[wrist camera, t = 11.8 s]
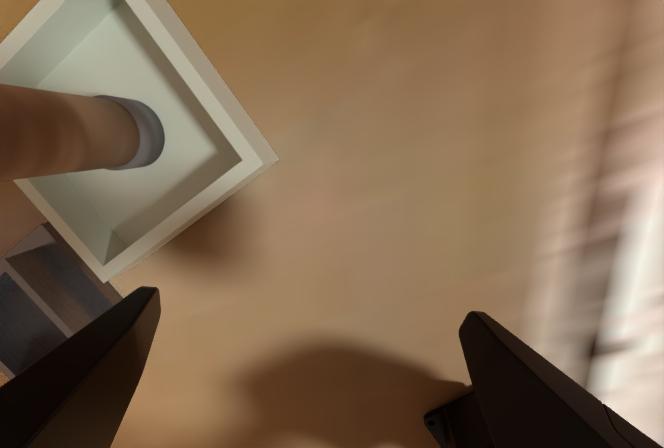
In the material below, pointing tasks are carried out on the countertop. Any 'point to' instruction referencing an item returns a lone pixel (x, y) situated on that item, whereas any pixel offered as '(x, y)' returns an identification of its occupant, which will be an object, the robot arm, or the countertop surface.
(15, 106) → the brown bulb shape
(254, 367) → the countertop surface
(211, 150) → the tray
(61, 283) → the socket block
